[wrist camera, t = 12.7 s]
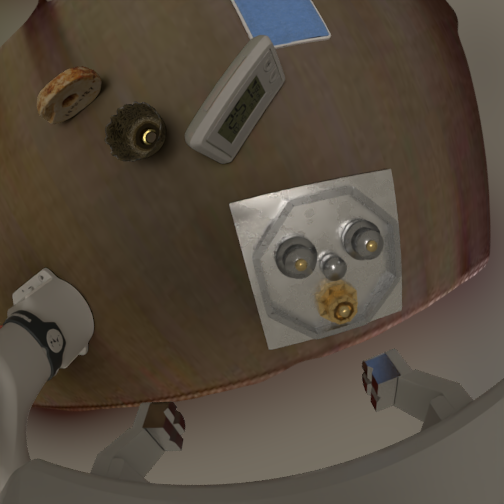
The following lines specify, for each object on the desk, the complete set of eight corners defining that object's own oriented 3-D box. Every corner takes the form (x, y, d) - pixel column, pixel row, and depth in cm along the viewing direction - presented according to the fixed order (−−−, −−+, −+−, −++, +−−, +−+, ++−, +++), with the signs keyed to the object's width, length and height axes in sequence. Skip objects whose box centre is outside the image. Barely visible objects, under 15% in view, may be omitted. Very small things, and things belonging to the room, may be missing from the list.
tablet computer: (331, 40, 32) (333, 37, 31) (256, 55, 33) (256, 51, 32) (285, -35, 26) (286, -39, 25) (216, -23, 27) (215, -27, 26)
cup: (184, 145, 36) (170, 140, 28) (141, 171, 37) (119, 173, 29) (162, 104, 34) (145, 90, 26) (121, 130, 35) (96, 123, 27)
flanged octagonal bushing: (319, 321, 44) (325, 334, 40) (313, 286, 42) (320, 298, 38) (355, 310, 43) (364, 322, 40) (352, 276, 41) (361, 286, 38)
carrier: (268, 345, 46) (271, 366, 40) (229, 202, 39) (227, 208, 33) (398, 307, 45) (413, 321, 40) (387, 168, 38) (406, 169, 32)
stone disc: (105, 72, 31) (74, 53, 22) (112, 88, 32) (81, 70, 23) (58, 112, 32) (22, 104, 23) (65, 128, 34) (28, 122, 24)
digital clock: (223, 170, 37) (216, 170, 27) (176, 130, 35) (154, 118, 25) (300, 93, 34) (320, 69, 24) (254, 54, 32) (259, 21, 22)
